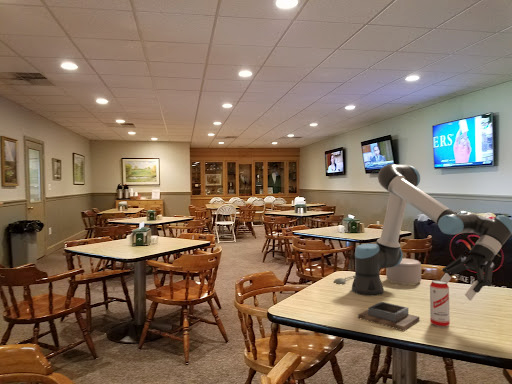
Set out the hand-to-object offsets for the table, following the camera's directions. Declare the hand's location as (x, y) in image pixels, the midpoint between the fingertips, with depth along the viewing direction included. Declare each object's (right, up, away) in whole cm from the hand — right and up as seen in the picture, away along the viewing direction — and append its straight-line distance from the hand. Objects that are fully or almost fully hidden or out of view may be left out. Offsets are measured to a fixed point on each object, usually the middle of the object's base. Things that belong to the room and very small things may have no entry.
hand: (452, 292), depth 128 cm
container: (+10, -13, +65) cm, 67 cm away
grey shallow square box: (-22, -11, +6) cm, 25 cm away
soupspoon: (-21, -14, +68) cm, 73 cm away
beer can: (-5, -12, 0) cm, 13 cm away
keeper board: (-22, -12, +6) cm, 26 cm away
